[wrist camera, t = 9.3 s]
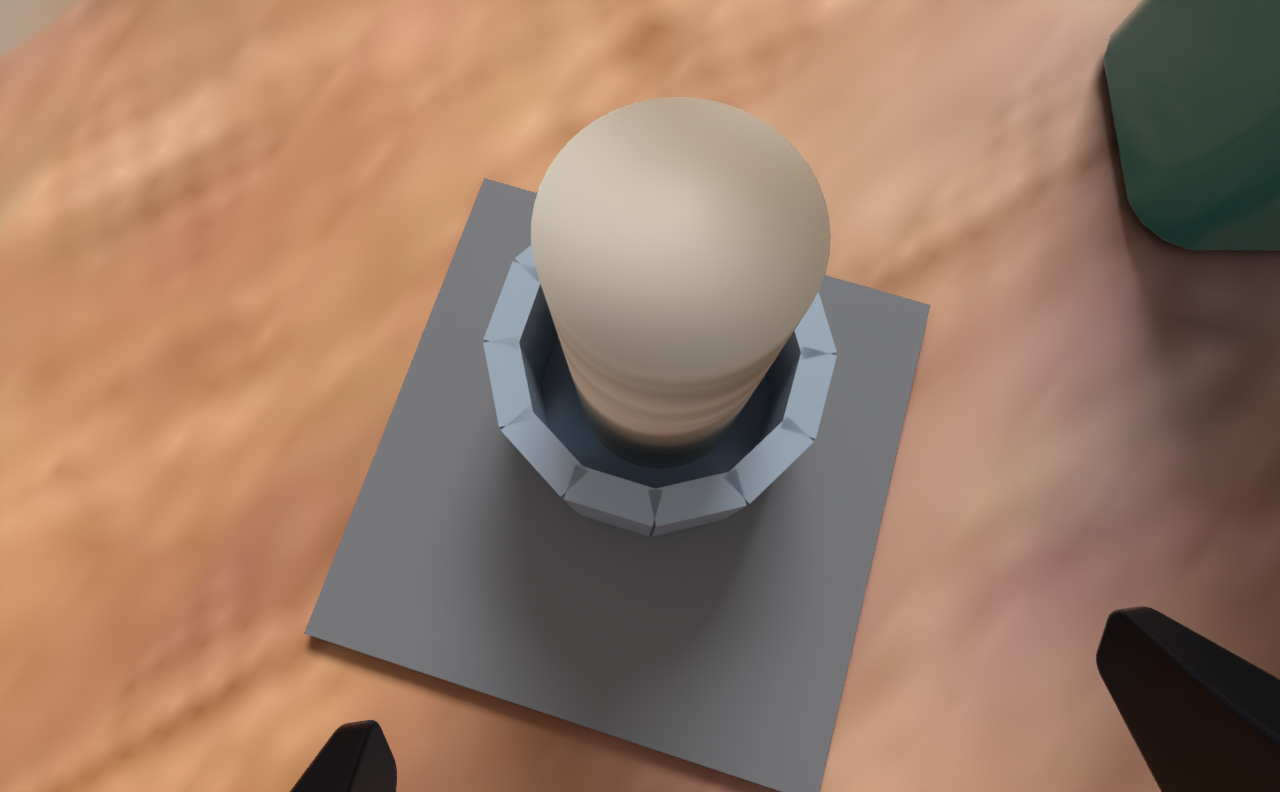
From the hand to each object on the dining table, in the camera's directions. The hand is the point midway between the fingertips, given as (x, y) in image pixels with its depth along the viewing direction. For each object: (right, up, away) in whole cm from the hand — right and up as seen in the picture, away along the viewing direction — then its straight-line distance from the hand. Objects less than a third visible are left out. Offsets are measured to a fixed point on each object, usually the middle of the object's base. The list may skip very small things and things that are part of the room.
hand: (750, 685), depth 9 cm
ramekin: (-1, +4, +12) cm, 13 cm away
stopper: (-1, +4, +12) cm, 12 cm away
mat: (-2, +2, +12) cm, 12 cm away
